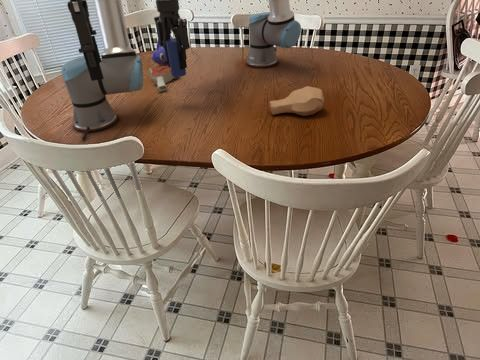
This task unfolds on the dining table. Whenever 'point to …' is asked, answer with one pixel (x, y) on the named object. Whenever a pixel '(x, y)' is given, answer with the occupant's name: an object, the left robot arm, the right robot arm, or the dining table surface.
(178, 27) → the right robot arm
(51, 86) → the dining table surface
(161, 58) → the toy
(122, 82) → the left robot arm
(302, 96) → the squash
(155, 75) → the tape dispenser
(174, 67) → the can
